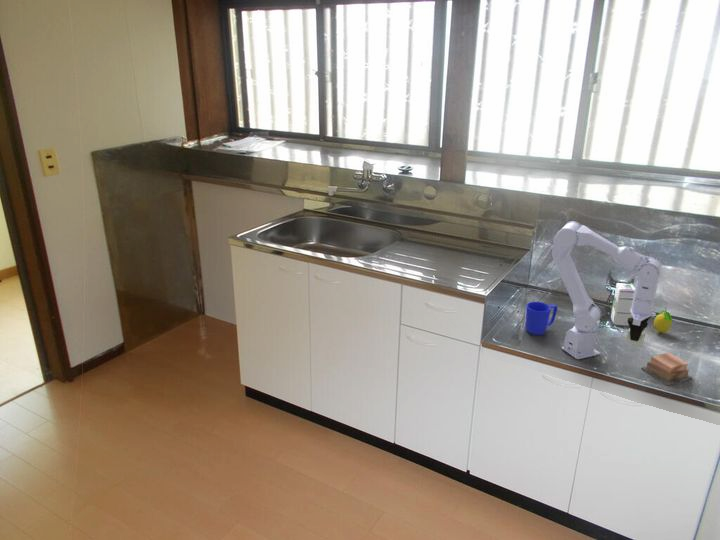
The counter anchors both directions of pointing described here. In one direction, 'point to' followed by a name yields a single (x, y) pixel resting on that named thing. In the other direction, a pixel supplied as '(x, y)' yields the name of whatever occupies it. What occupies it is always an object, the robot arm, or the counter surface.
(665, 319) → the lemon
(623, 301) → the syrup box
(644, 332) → the sage brick
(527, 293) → the counter surface
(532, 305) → the mug
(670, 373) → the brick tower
